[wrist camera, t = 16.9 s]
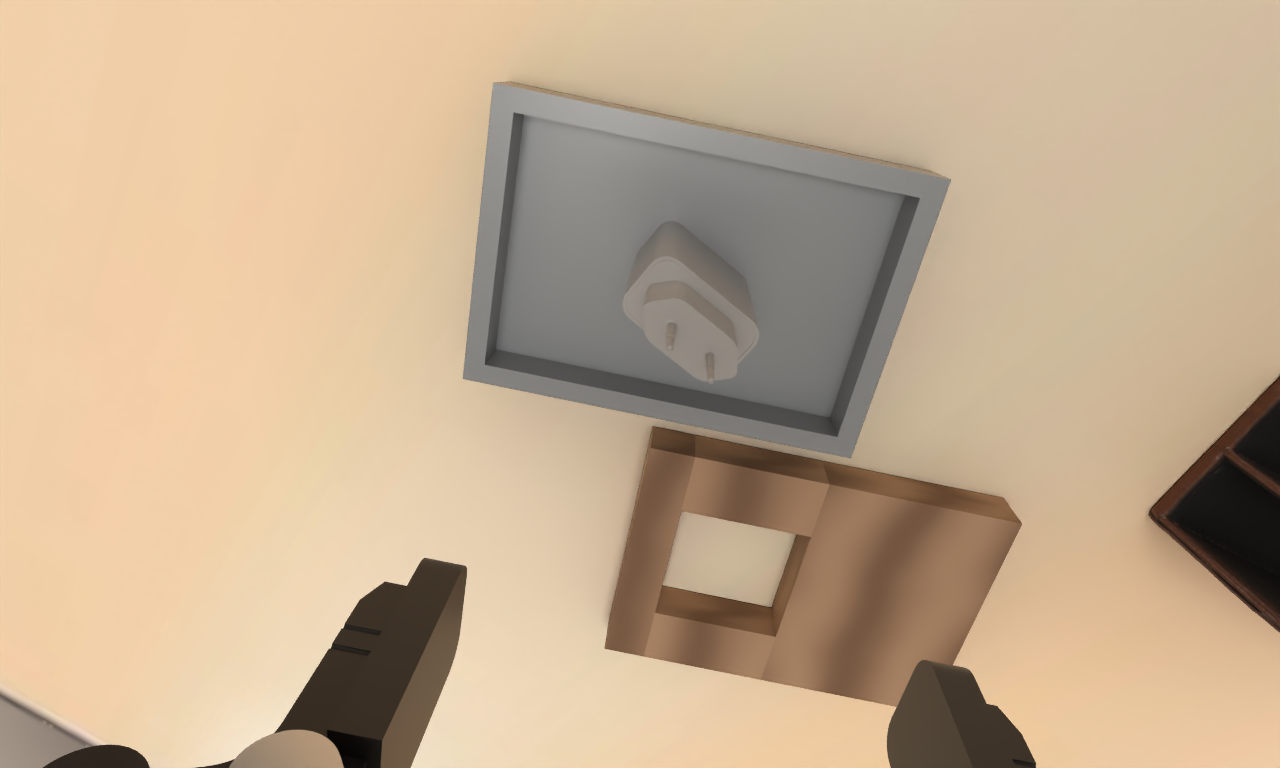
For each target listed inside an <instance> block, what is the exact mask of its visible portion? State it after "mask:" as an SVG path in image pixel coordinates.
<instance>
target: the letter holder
mask: <svg viewBox="0 0 1280 768" xmlns="http://www.w3.org/2000/svg"><path fill="white" fill-rule="evenodd" d="M1149 516H1150V517H1151V519H1152V520H1153V521H1154V522H1155V523H1156V524H1157V525H1158V526H1159V527H1160V528H1161V529H1162V530H1164V531H1165V532H1166V533H1167V534H1169V535H1170V536H1171V537H1172V538H1173V539H1174V540H1175V541H1176V542H1178V543H1179V544H1180V545H1181V546H1182V547H1183V548H1184V549H1185V550H1186V551H1188V552H1189V553H1190V554H1191V555H1192V556H1193V557H1194V558H1195V559H1196V560H1197V561H1199V562H1200V563H1201V564H1202V565H1203V566H1204V567H1205V568H1207V569H1208V570H1209V571H1210V572H1211V573H1212V574H1213V575H1214V576H1215V577H1216V578H1217V579H1218V580H1219V581H1221V582H1222V583H1223V585H1224V586H1226V587H1227V588H1228V589H1229V590H1230V591H1231V592H1232V593H1234V594H1235V595H1236V596H1237V597H1238V598H1239V599H1240V600H1241V601H1243V602H1244V603H1245V604H1246V605H1247V606H1248V607H1249V608H1250V609H1251V610H1252V611H1254V612H1255V613H1257V614H1258V615H1259V616H1260V617H1262V618H1263V619H1264V620H1265V621H1267V622H1268V623H1269V624H1270V625H1271V626H1272V627H1274V628H1275V629H1276V630H1277V631H1279V632H1280V378H1279V379H1278V380H1277V381H1276V382H1275V383H1274V384H1273V385H1272V386H1271V387H1270V388H1269V389H1268V390H1267V391H1266V392H1265V393H1264V394H1263V395H1262V396H1261V397H1260V398H1259V399H1258V400H1257V401H1256V402H1255V403H1254V404H1253V405H1252V406H1251V407H1250V408H1249V409H1248V410H1247V411H1246V412H1245V414H1244V415H1243V416H1242V417H1241V418H1240V419H1239V420H1238V421H1237V422H1236V423H1235V424H1234V425H1233V426H1232V427H1231V428H1230V429H1229V430H1228V431H1227V432H1226V433H1225V434H1224V435H1223V436H1222V437H1221V438H1220V439H1219V440H1218V441H1217V442H1216V443H1215V444H1214V445H1213V446H1212V447H1211V448H1210V449H1209V450H1208V451H1207V452H1206V453H1205V454H1204V455H1203V456H1202V457H1201V458H1200V459H1199V460H1198V461H1197V462H1196V463H1195V464H1194V465H1193V466H1192V467H1191V468H1190V469H1189V471H1188V472H1187V473H1186V474H1185V475H1184V476H1183V477H1182V478H1181V479H1180V480H1178V481H1177V483H1176V484H1175V485H1174V486H1173V487H1172V488H1171V489H1170V490H1169V491H1168V492H1167V493H1166V494H1165V495H1164V496H1163V498H1162V499H1161V500H1160V501H1159V502H1158V503H1157V504H1156V505H1155V506H1154V507H1153V508H1152V509H1151V511H1150V513H1149Z"/></svg>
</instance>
